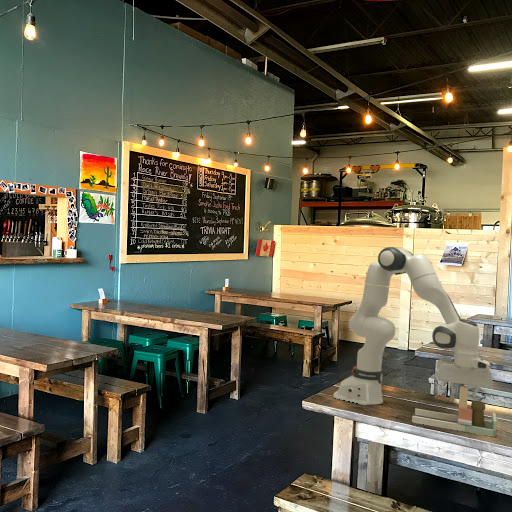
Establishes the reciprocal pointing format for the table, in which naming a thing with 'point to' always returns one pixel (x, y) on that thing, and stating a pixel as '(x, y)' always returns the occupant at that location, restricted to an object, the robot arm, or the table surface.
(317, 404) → the table surface
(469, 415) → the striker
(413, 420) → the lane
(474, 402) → the olive rounded upright piece
